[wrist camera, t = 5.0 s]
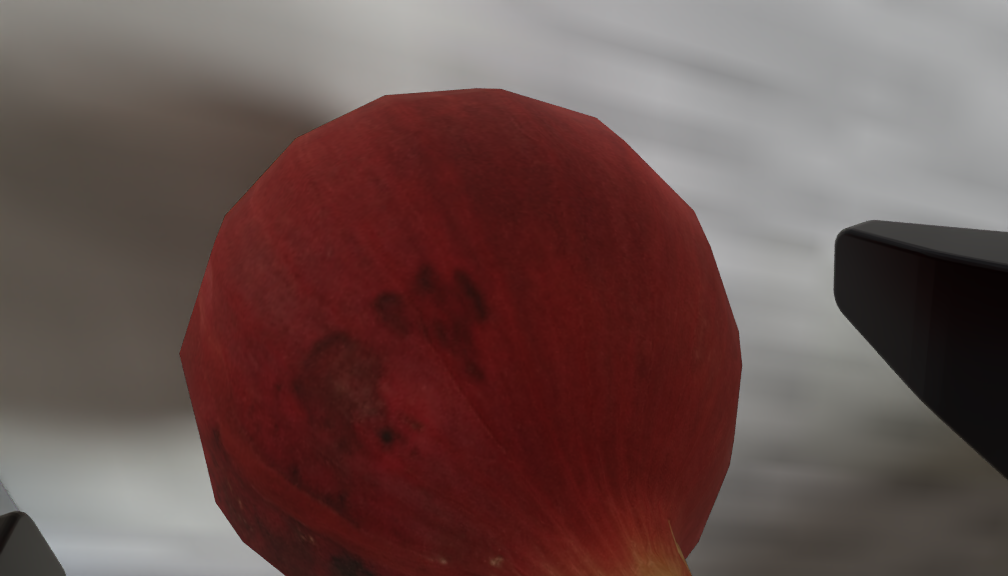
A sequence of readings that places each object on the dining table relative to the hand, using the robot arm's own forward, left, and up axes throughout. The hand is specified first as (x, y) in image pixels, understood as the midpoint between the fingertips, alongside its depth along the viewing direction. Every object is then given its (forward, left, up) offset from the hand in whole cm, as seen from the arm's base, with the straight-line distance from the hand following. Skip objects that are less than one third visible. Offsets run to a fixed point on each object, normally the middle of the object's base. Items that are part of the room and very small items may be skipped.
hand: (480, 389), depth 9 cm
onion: (0, 0, -4) cm, 5 cm away
